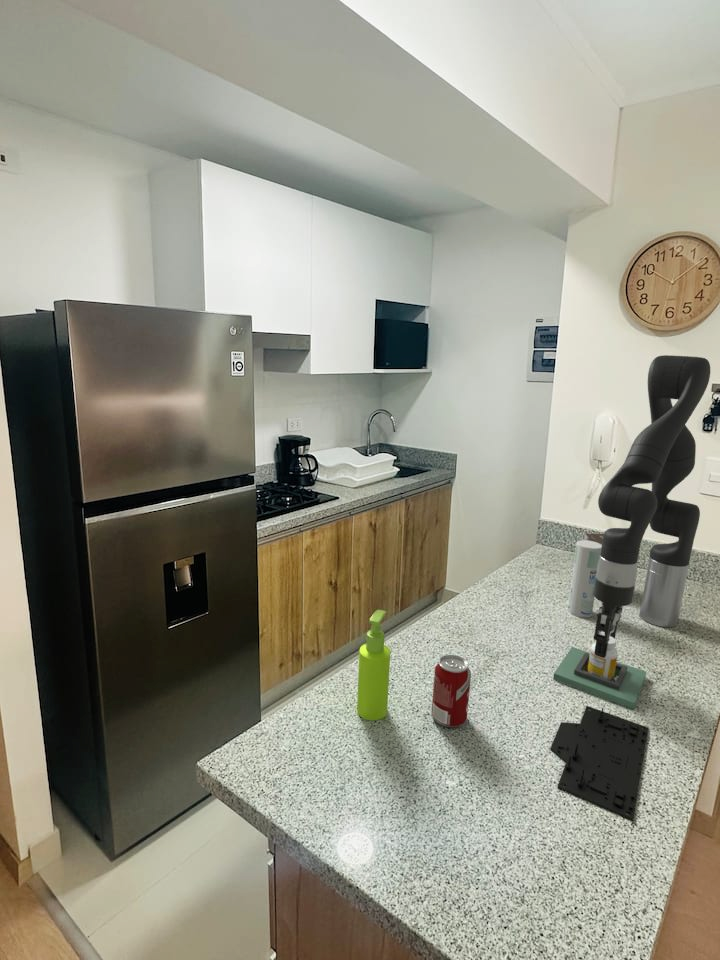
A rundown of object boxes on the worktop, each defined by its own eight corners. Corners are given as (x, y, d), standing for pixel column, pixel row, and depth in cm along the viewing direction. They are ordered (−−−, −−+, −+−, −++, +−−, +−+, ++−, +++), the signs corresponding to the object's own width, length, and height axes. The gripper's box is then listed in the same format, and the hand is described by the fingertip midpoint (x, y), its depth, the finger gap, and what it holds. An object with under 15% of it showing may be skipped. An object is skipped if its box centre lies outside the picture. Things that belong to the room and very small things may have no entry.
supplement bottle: (608, 672, 120) (614, 633, 118) (616, 687, 115) (623, 646, 113) (583, 670, 121) (589, 631, 118) (590, 684, 115) (597, 644, 113)
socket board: (571, 652, 128) (572, 642, 127) (645, 677, 119) (647, 667, 118) (553, 679, 117) (554, 669, 116) (633, 709, 108) (635, 698, 107)
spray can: (584, 620, 144) (594, 550, 139) (562, 610, 149) (571, 542, 144) (596, 613, 148) (607, 545, 143) (574, 604, 153) (584, 538, 148)
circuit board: (632, 823, 82) (635, 807, 81) (537, 781, 89) (539, 766, 88) (648, 731, 102) (650, 717, 102) (569, 703, 110) (571, 690, 109)
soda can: (445, 734, 99) (449, 677, 96) (424, 712, 104) (428, 657, 102) (473, 724, 102) (479, 668, 99) (452, 703, 108) (457, 649, 105)
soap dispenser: (392, 702, 107) (397, 610, 103) (382, 723, 101) (387, 627, 96) (364, 695, 109) (368, 605, 104) (352, 716, 103) (356, 621, 98)
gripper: (628, 595, 104) (616, 668, 108) (641, 572, 116) (630, 639, 120) (588, 584, 109) (577, 655, 113) (604, 563, 120) (594, 628, 124)
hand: (604, 647), depth 116 cm, fingers open, 8 cm apart
